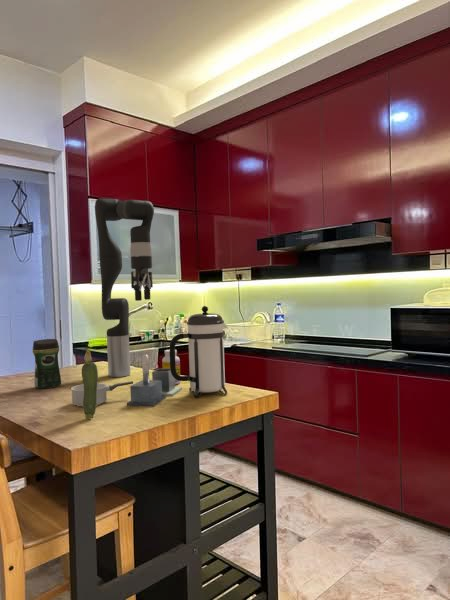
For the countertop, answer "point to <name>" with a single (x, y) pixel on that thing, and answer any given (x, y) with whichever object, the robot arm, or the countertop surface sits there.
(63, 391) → the countertop surface
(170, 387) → the collar
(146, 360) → the grey peg stand
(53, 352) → the coffee jar
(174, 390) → the pad
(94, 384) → the vegetable
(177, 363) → the supplement bottle
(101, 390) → the saucepan
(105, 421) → the countertop surface
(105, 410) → the countertop surface
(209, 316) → the coffee press
